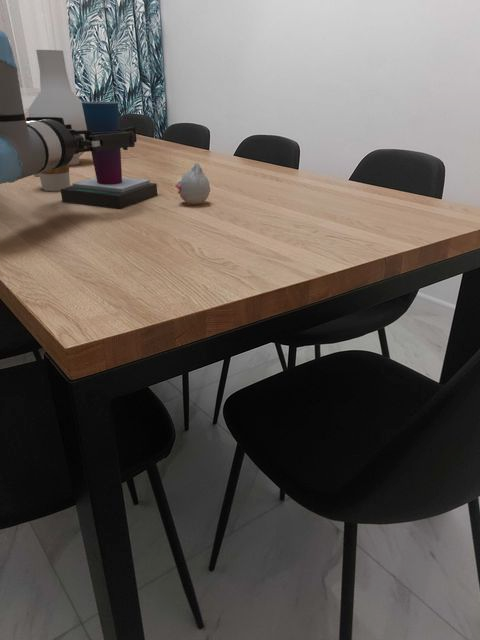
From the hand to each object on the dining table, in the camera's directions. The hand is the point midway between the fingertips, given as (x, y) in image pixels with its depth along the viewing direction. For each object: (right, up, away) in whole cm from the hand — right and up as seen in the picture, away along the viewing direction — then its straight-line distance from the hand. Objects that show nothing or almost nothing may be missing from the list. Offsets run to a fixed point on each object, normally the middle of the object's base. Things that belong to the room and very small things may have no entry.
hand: (102, 133), depth 100 cm
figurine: (+18, -13, +3) cm, 23 cm away
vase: (-24, +10, +44) cm, 51 cm away
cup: (0, -8, +5) cm, 10 cm away
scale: (0, -11, +6) cm, 13 cm away
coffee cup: (-15, -7, +14) cm, 22 cm away
